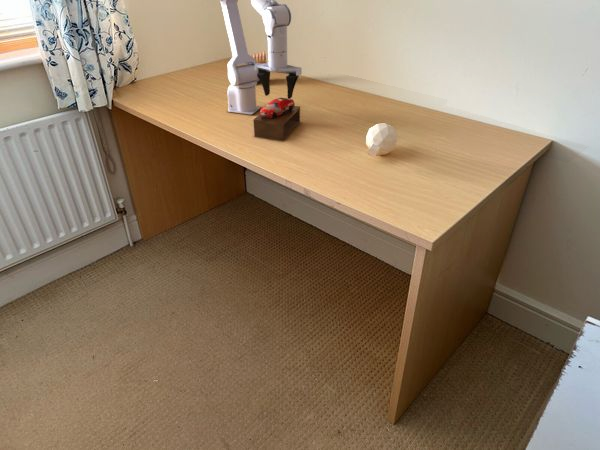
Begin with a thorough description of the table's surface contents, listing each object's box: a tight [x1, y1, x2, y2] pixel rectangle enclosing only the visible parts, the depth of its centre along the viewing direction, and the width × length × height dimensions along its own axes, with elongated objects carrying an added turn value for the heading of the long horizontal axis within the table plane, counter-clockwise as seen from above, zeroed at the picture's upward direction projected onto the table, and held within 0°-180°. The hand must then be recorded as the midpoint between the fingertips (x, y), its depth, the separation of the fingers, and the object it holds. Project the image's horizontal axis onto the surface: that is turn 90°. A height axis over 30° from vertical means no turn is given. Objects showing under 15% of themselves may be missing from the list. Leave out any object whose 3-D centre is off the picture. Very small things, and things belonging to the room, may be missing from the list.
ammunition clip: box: [250, 50, 268, 84], centre depth 179 cm, size 11×2×12 cm, turn 137°
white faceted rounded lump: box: [365, 122, 398, 158], centre depth 123 cm, size 9×9×12 cm
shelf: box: [253, 105, 301, 142], centre depth 139 cm, size 10×16×6 cm, turn 160°
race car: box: [259, 97, 296, 118], centre depth 136 cm, size 13×5×4 cm, turn 140°
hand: (278, 96), depth 136 cm, fingers open, 7 cm apart
